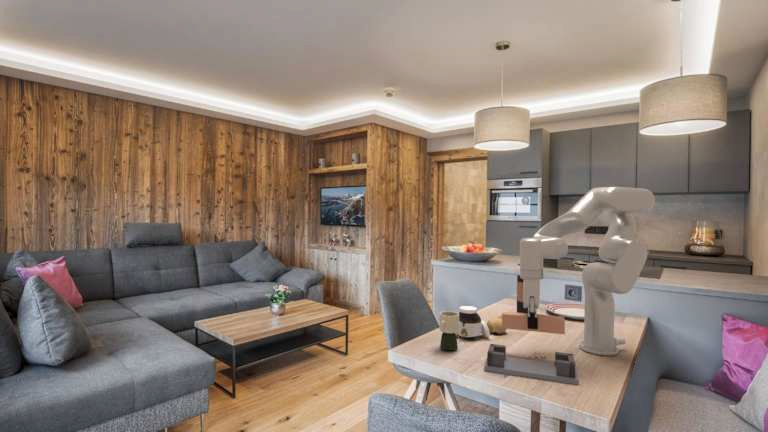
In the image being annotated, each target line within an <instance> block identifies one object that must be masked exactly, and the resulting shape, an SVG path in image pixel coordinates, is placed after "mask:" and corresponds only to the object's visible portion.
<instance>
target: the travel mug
mask: <svg viewBox="0 0 768 432" xmlns="http://www.w3.org/2000/svg"><path fill="white" fill-rule="evenodd" d="M516 276H517V277H516V278H517V279H516V313H527V314H528V307H527V308H524V303H523V280H524V279H521V278H520V274H518V275H516Z"/></svg>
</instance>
